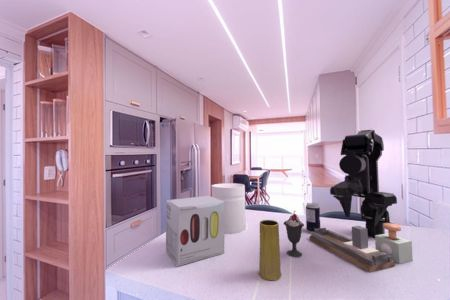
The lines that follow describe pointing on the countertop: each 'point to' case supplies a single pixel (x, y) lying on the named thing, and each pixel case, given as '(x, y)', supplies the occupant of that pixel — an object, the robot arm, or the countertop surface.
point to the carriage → (360, 242)
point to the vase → (269, 250)
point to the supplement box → (194, 229)
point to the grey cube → (394, 248)
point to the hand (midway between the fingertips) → (360, 221)
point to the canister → (231, 205)
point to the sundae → (294, 234)
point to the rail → (350, 251)
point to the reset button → (392, 230)
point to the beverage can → (312, 216)
